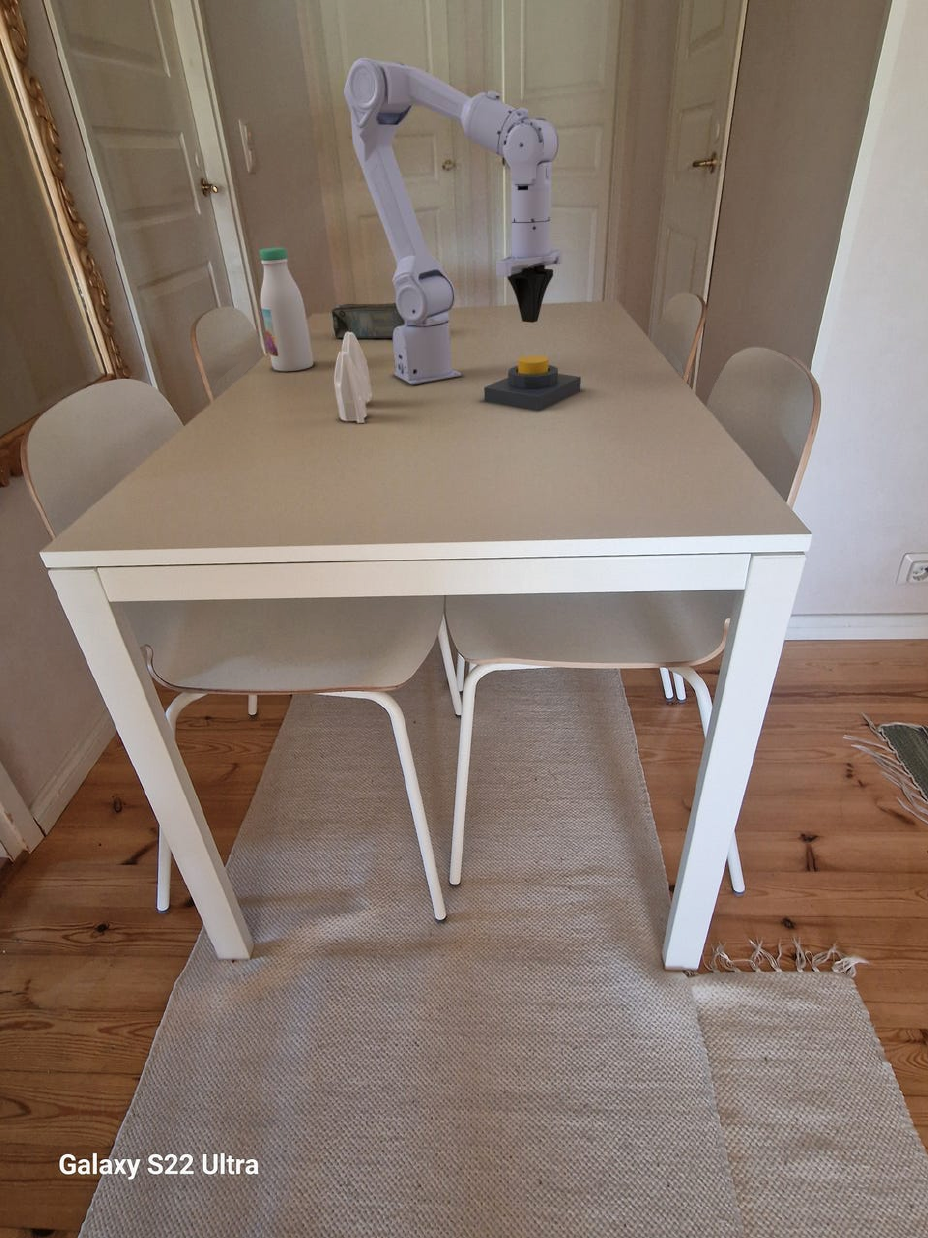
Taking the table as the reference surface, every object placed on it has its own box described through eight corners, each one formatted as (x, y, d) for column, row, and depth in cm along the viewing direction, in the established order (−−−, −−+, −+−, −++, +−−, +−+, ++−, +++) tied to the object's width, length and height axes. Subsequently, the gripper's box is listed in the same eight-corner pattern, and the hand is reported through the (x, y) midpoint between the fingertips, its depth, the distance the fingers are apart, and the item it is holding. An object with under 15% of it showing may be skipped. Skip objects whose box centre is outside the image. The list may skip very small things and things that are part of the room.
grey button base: (538, 411, 101) (538, 383, 99) (484, 401, 106) (483, 374, 104) (580, 390, 109) (581, 364, 106) (527, 382, 114) (528, 357, 112)
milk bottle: (318, 361, 133) (300, 245, 122) (307, 371, 127) (286, 249, 116) (280, 362, 134) (258, 246, 123) (267, 372, 128) (243, 251, 117)
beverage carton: (348, 331, 156) (344, 299, 153) (428, 332, 151) (426, 299, 148) (334, 338, 150) (329, 306, 146) (416, 340, 145) (413, 306, 141)
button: (537, 378, 103) (537, 363, 102) (512, 374, 105) (512, 360, 104) (553, 371, 106) (554, 357, 105) (529, 367, 108) (529, 353, 107)
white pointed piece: (349, 400, 110) (339, 326, 104) (375, 399, 110) (366, 325, 104) (336, 424, 100) (324, 344, 94) (365, 423, 100) (354, 343, 94)
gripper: (524, 226, 93) (524, 332, 100) (580, 216, 102) (576, 315, 109) (483, 225, 96) (486, 328, 104) (541, 216, 106) (539, 311, 113)
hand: (529, 321), depth 107 cm, fingers closed
